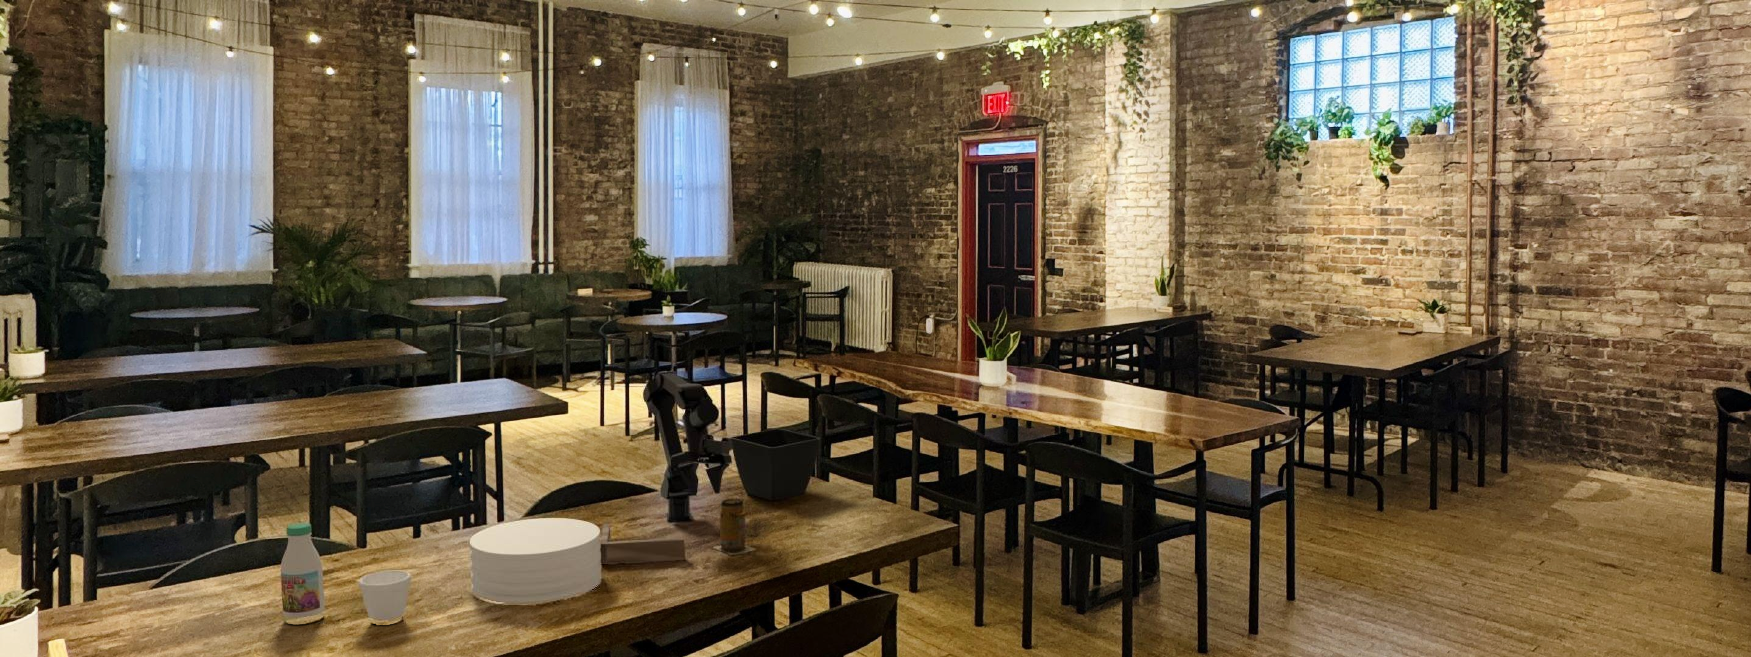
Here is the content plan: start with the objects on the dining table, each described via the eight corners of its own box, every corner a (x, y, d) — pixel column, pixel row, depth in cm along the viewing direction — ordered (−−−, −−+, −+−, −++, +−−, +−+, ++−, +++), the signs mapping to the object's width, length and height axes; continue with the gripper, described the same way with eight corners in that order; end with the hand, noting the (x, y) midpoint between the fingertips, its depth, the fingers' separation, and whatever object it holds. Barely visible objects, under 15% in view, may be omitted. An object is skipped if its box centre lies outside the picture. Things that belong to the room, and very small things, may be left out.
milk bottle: (292, 613, 247) (286, 520, 245) (331, 612, 248) (325, 519, 245) (277, 627, 239) (271, 531, 237) (316, 625, 240) (310, 530, 238)
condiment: (737, 542, 296) (736, 495, 294) (756, 550, 289) (755, 502, 288) (712, 548, 291) (711, 500, 290) (731, 556, 285) (730, 507, 283)
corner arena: (604, 543, 295) (603, 523, 295) (683, 538, 299) (682, 519, 298) (600, 564, 278) (600, 544, 278) (684, 560, 282) (683, 539, 281)
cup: (362, 633, 236) (360, 588, 235) (358, 617, 245) (356, 574, 243) (416, 624, 240) (413, 580, 239) (410, 609, 249) (408, 566, 248)
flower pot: (822, 493, 343) (821, 436, 341) (773, 506, 329) (772, 447, 327) (778, 482, 356) (778, 427, 354) (729, 494, 342) (728, 437, 340)
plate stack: (533, 559, 283) (531, 512, 282) (627, 575, 271) (625, 526, 270) (443, 595, 259) (441, 544, 257) (542, 614, 246) (540, 561, 245)
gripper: (699, 423, 290) (709, 486, 286) (743, 427, 306) (753, 486, 302) (664, 434, 295) (673, 496, 291) (709, 437, 311) (719, 496, 307)
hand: (706, 493), depth 298 cm, fingers open, 9 cm apart
